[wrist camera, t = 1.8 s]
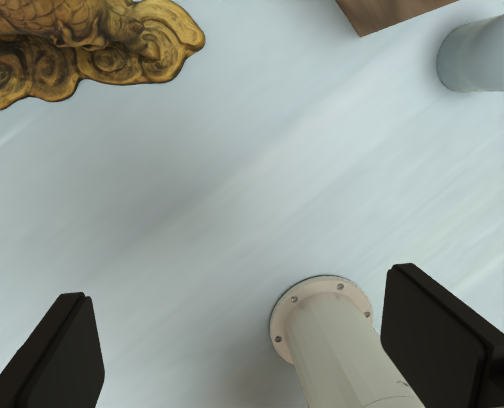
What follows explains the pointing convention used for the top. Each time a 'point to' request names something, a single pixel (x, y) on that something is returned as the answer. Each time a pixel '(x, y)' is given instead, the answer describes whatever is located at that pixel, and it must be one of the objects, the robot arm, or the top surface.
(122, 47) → the figurine
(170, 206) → the top surface
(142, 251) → the top surface
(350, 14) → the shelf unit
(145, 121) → the top surface
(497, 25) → the grey cylinder
